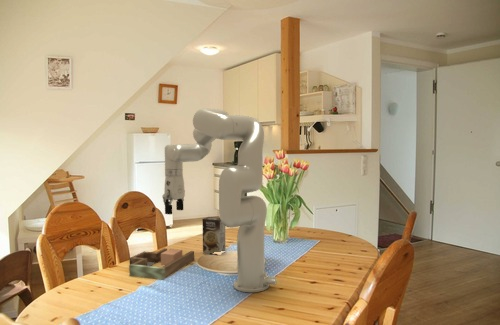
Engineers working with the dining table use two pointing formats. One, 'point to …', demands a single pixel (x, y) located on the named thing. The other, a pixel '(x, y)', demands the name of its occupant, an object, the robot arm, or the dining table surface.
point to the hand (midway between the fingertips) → (174, 212)
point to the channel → (140, 262)
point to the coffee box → (213, 235)
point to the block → (170, 256)
